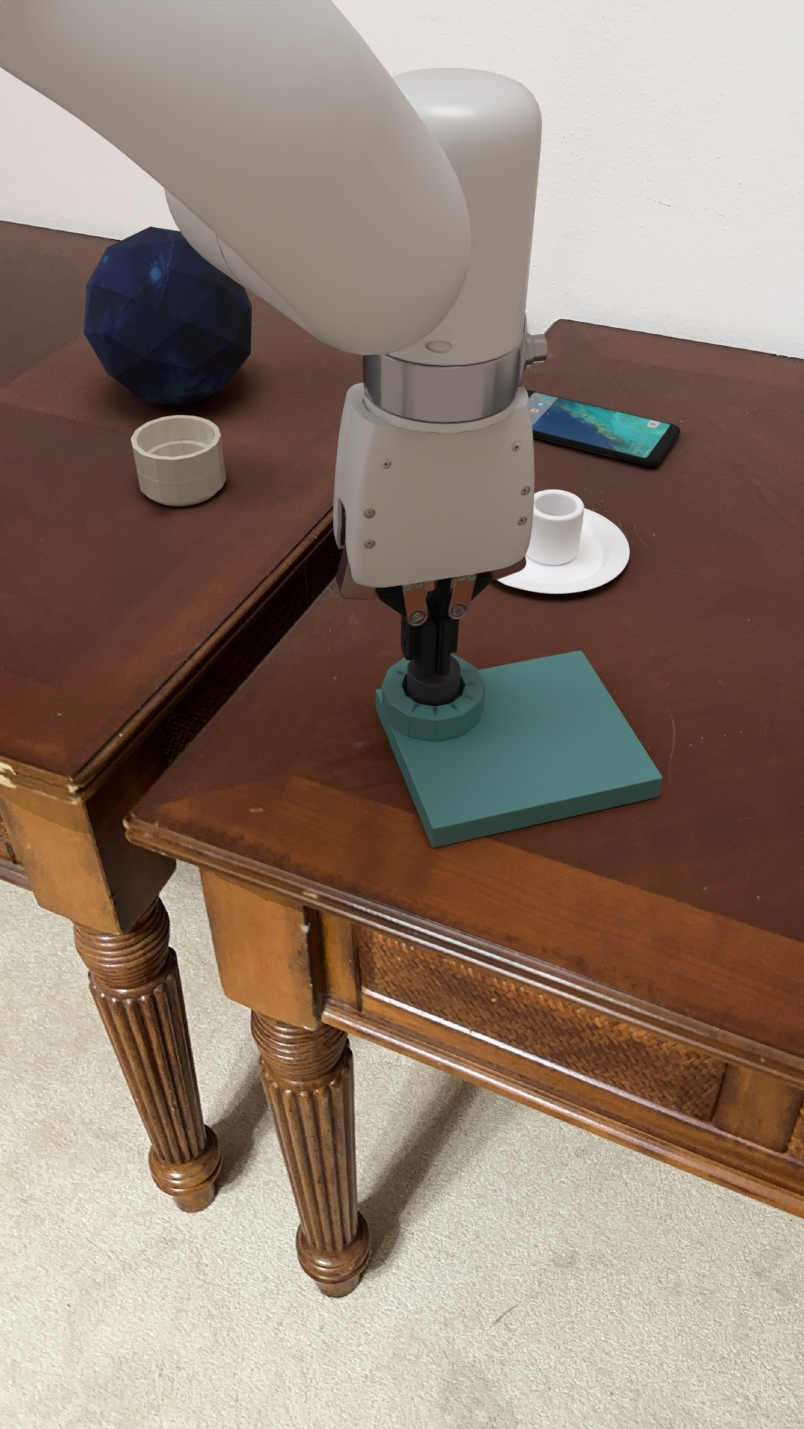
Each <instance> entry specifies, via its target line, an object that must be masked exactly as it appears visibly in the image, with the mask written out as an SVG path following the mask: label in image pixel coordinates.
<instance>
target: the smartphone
mask: <svg viewBox="0 0 804 1429" xmlns="http://www.w3.org/2000/svg"><path fill="white" fill-rule="evenodd" d="M526 391H527V393H528V398H529V405H530V412H531V421H532V433H533V439H539V440H543V441H546V442H549V443H554V444H558V445H562V446H565V447H570V448H572V449H573V448H574V449H578V450H581V451H585V452H589V453H594V454H597V455H601V456H604V457H605V456H606V457H610V458H612V459H617V460H621V461H625V462H629V463H632V464H635V465H636V464H637V465H641V466H645V467H648V468H650V467H651V468H653V467H657V466H658V465H659V464H660V463H661V462H662V460H663V459H664V458H665V456H666V454H667V453H668V452H669V450H670V449H671V447H672V446H673V445H674V443H675V442H676V440H677V439H678V437H679V436H680V434H681V428H680V426H678V425H677V424H673V423H669V422H665V421H662V420H657V419H653V418H649V417H645V416H641V415H637V414H633V413H629V412H628V413H627V412H624V411H621V410H615V409H611V408H607V407H602V406H598V405H594V404H590V403H585V402H582V401H578V400H574V399H569V398H566V397H565V398H564V397H561V396H556V395H552V394H548V393H544V392H540V391H535V390H531V389H526Z"/></svg>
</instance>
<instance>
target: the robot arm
mask: <svg viewBox="0 0 804 1429" xmlns="http://www.w3.org/2000/svg"><path fill="white" fill-rule="evenodd" d="M0 69H2V70H4V71H5V72H6V73H8V74H10V75H11V76H13V77H14V78H15V79H18V80H19V81H20V82H22V83H23V84H25V85H27V86H29V87H30V88H31V89H33V90H35V92H37V93H38V94H41V96H44V97H45V98H47V99H48V100H49V101H51V102H53V103H55V104H56V105H57V106H59V107H61V108H62V109H63V110H65V111H66V112H67V113H69V114H71V115H72V116H73V117H75V118H76V119H78V120H79V121H80V122H82V123H83V124H84V125H86V126H87V127H89V128H90V129H91V130H92V131H94V132H95V133H97V134H98V135H99V136H100V137H102V138H103V139H104V140H106V141H107V142H109V143H110V144H111V146H114V147H115V148H116V149H117V150H119V151H120V152H121V153H122V154H124V155H125V156H126V157H127V158H128V159H129V160H130V161H131V162H133V163H134V164H136V166H138V167H139V168H140V169H141V170H143V171H144V172H145V173H146V174H148V175H149V177H151V178H152V179H153V180H155V181H156V182H157V183H158V184H159V185H160V186H162V187H163V190H164V196H165V200H166V203H167V207H168V211H169V212H170V215H171V217H172V219H173V221H174V223H175V225H176V227H177V229H178V231H180V232H181V233H182V235H183V236H184V238H185V239H186V240H187V241H188V243H189V244H190V245H191V246H192V247H193V248H194V249H195V250H196V251H197V252H198V253H199V254H200V255H201V256H202V257H203V258H204V259H206V260H207V261H208V262H209V263H210V264H212V265H213V266H214V267H216V268H217V269H219V270H220V271H222V272H223V273H225V274H226V275H227V276H229V277H230V278H232V279H233V280H234V281H236V282H237V283H239V284H240V285H241V286H243V287H244V288H245V290H246V291H248V292H249V293H251V294H253V295H254V296H257V297H259V298H261V299H262V300H263V301H264V302H266V303H267V304H269V305H270V306H272V307H273V308H274V309H275V310H277V311H278V312H280V313H282V314H283V315H284V316H285V317H287V318H288V319H290V320H291V321H292V322H294V323H295V324H296V325H298V326H299V327H300V328H302V329H303V330H304V331H306V332H307V333H308V334H310V335H311V336H312V337H314V338H315V339H317V340H318V341H320V342H322V343H323V344H325V345H327V346H329V347H332V348H334V349H336V350H339V351H341V352H343V353H348V354H354V355H360V356H362V382H359V383H355V384H352V385H351V386H350V387H349V388H348V390H347V392H346V395H345V399H344V403H343V409H342V413H341V419H340V425H339V430H338V431H339V432H338V439H337V448H336V458H335V459H336V460H335V469H334V485H333V487H334V488H333V508H332V510H333V512H332V524H333V526H332V527H333V535H334V540H335V543H336V544H335V545H336V547H337V549H338V550H342V552H341V556H340V560H339V564H338V567H337V572H336V576H335V583H336V586H337V589H338V591H339V593H340V596H341V597H342V598H343V599H344V600H345V599H346V600H359V601H360V600H362V601H373V600H380V602H381V603H382V604H385V605H386V606H387V607H389V608H391V609H392V610H393V611H395V612H396V613H398V614H399V615H400V647H401V652H402V654H403V656H404V657H405V659H406V660H407V661H408V660H413V661H414V663H415V665H416V667H417V669H418V671H419V673H420V676H421V678H422V679H426V678H431V677H432V675H434V673H436V674H439V676H443V675H448V674H449V670H450V655H452V654H453V653H457V651H458V645H459V629H460V620H461V619H463V618H464V617H465V616H466V615H467V614H468V612H469V609H470V605H471V602H472V601H473V600H474V599H476V597H477V596H478V595H480V594H481V592H482V591H484V590H485V589H486V588H487V587H488V586H489V585H490V584H491V582H492V581H498V579H501V578H504V577H506V576H509V575H512V574H514V573H517V572H520V571H521V570H523V569H524V568H525V566H526V557H525V555H526V553H527V550H528V548H529V544H530V539H531V533H532V524H533V511H534V494H535V483H536V481H535V479H536V478H535V476H536V475H535V471H536V470H535V450H534V449H535V448H534V437H533V433H532V421H531V412H530V405H529V398H528V393H527V391H526V390H527V389H526V388H525V386H524V385H523V381H524V373H525V370H526V368H529V367H532V365H533V364H538V363H544V362H546V361H547V358H548V353H549V352H548V351H549V350H548V349H549V348H548V341H547V337H546V336H545V335H544V333H539V334H531V333H530V332H524V330H525V320H526V309H527V301H528V300H527V299H528V288H529V278H530V268H531V257H532V246H533V235H534V226H535V225H534V224H535V214H536V205H537V196H538V194H537V193H538V184H539V172H540V162H541V151H542V136H543V134H542V132H543V118H542V112H541V109H540V105H539V103H538V101H537V99H536V97H535V95H534V93H533V92H532V91H531V90H530V89H529V88H528V87H527V86H525V84H523V83H521V81H518V80H516V79H513V78H511V77H509V76H507V75H503V74H501V73H496V72H492V71H488V70H482V69H475V68H465V67H463V68H461V67H431V68H421V69H414V70H409V71H404V72H401V73H399V74H396V75H393V76H392V75H391V74H390V72H389V71H388V70H387V69H386V67H385V66H384V65H383V63H382V62H381V61H380V59H379V58H378V57H377V56H376V54H375V53H374V51H373V50H372V48H371V47H370V46H369V45H368V43H367V41H365V39H364V38H363V36H362V35H361V34H360V33H359V32H358V30H357V29H356V28H355V27H354V26H353V24H352V23H351V22H350V20H348V18H347V17H346V16H345V14H344V13H342V11H341V10H340V9H339V8H338V6H337V5H336V4H335V3H334V2H333V1H332V0H0ZM425 582H433V589H432V590H428V591H426V590H425ZM404 657H403V658H404Z"/></svg>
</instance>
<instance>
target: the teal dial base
mask: <svg viewBox="0 0 804 1429" xmlns="http://www.w3.org/2000/svg"><path fill="white" fill-rule="evenodd" d="M451 655H452V656H453V657H454V658H456V659H457V661H458V662H459V664H460V668H461V672H460V690H459V694H458V695H457V697H456V698H455V699H454V700H453V701H451V702H450V703H448V704H445V705H440V706H428V705H423V704H420V703H418V702H416V701H415V700H413V699H412V698H411V697H410V695H409V693H408V691H407V666H408V663H409V661H410V660H408V661H407V660H406V659H405V657H403V658H401V659H400V660H398V661H397V662H395V663H394V664H392V665H391V666H390V667H388V668H387V671H386V674H385V676H384V678H383V681H382V684H381V688H377V689H376V690H375V711H376V713H377V715H378V717H379V718H378V719H379V721H380V723H381V725H382V728H383V730H384V732H385V735H386V737H387V739H388V742H389V745H390V747H391V750H392V752H393V755H394V757H395V759H396V762H397V765H398V767H399V769H400V772H401V775H402V777H403V779H404V782H405V784H406V787H407V790H408V792H409V794H410V796H411V799H412V802H413V804H414V807H415V809H416V812H417V814H418V816H419V819H420V822H421V824H422V827H423V830H424V831H425V834H426V836H427V839H428V842H429V844H430V846H431V848H432V849H434V848H438V847H443V846H447V845H453V844H456V843H461V842H465V841H469V840H474V839H479V838H483V837H487V836H492V835H497V834H500V833H501V834H502V833H505V832H509V831H515V830H519V829H523V828H527V827H532V826H536V825H541V824H544V823H549V822H553V821H559V820H563V819H567V818H568V819H569V818H572V817H577V816H580V815H585V814H589V813H594V812H598V811H603V810H607V809H611V808H617V807H620V806H624V805H629V804H634V803H638V802H642V801H647V800H651V799H656V798H659V796H660V791H661V787H662V783H663V779H664V778H663V775H662V774H661V772H660V771H659V769H658V768H657V766H656V764H655V763H654V761H653V760H652V758H651V756H649V754H648V752H647V750H646V749H645V747H644V745H643V744H642V743H641V741H640V739H639V738H638V736H637V735H636V733H635V731H634V730H633V728H632V727H631V725H630V724H629V722H628V721H627V719H626V717H625V716H624V714H623V713H622V711H621V710H620V708H619V707H618V704H616V702H615V700H614V699H613V697H612V696H611V694H610V693H609V691H608V689H607V688H606V687H605V685H604V683H603V681H602V680H601V679H600V678H601V677H599V676H598V674H597V672H596V670H595V669H594V668H593V666H592V664H591V663H590V662H589V659H588V658H587V657H586V655H585V653H584V652H583V651H582V650H581V649H580V650H579V649H578V650H574V651H569V652H565V653H558V654H553V655H548V656H543V657H538V658H532V659H528V660H521V661H518V662H511V663H508V664H502V665H496V666H492V667H488V668H487V667H486V668H483V669H482V668H481V669H478V668H477V667H476V666H475V665H473V664H472V663H470V662H469V661H467V660H465V659H464V658H462V657H460V656H458V655H456V654H451Z"/></svg>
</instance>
